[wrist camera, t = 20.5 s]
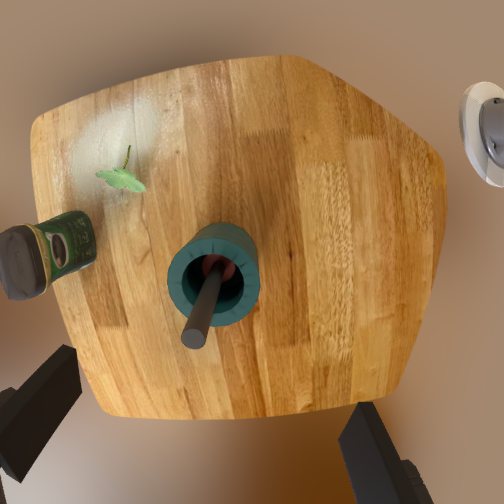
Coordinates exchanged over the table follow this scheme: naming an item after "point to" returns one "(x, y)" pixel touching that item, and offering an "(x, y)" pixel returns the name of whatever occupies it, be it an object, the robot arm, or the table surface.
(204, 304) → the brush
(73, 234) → the coffee jar
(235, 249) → the cup
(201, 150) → the table surface
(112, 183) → the seedling
